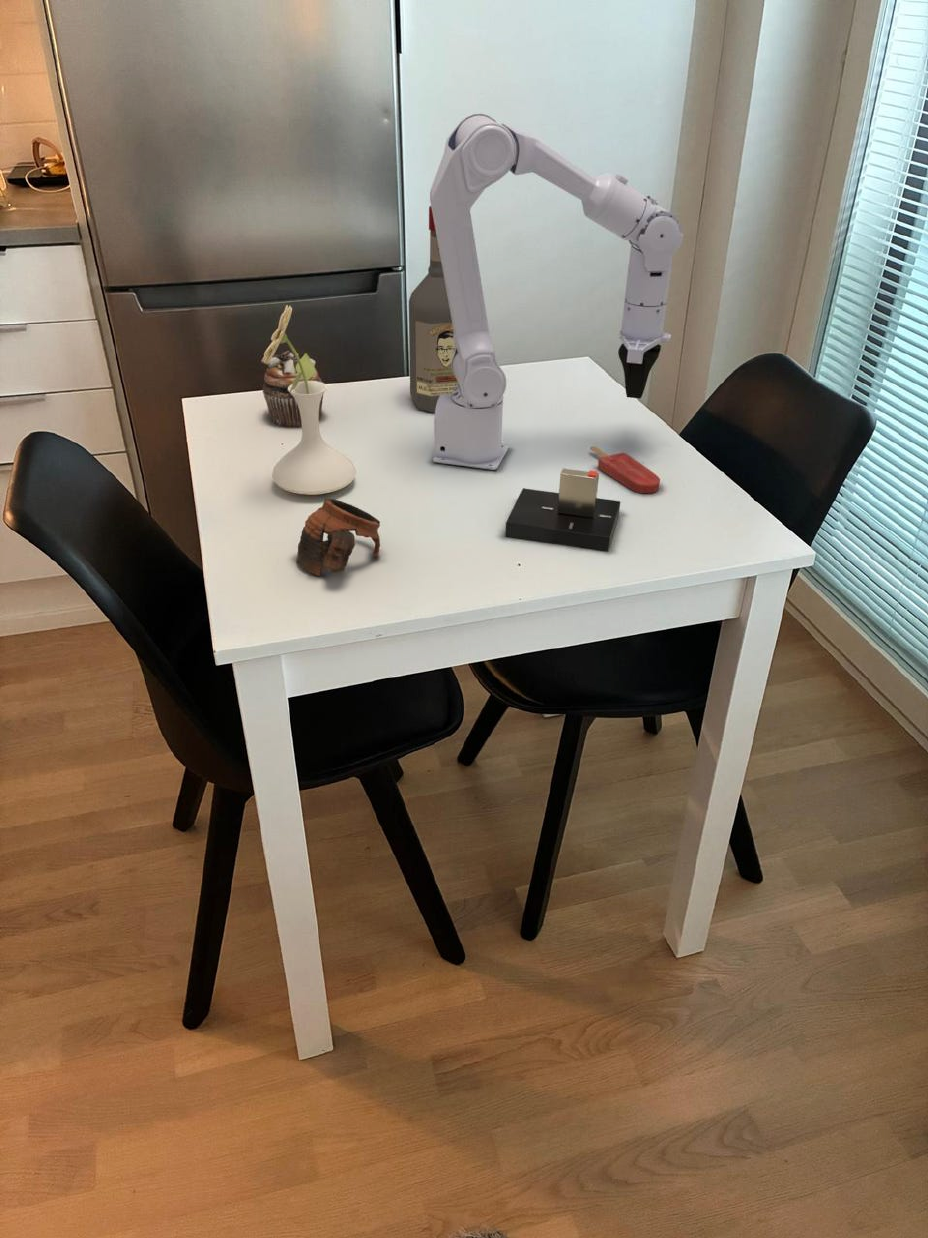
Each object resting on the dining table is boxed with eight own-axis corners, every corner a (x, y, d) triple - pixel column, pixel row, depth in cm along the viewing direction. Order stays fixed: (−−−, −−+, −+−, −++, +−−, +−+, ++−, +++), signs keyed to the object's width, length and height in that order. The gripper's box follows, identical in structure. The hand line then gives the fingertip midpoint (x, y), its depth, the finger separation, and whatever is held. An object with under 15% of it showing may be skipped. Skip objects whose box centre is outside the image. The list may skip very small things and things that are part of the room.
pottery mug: (288, 549, 117) (313, 487, 115) (359, 576, 120) (385, 516, 118) (292, 576, 105) (320, 508, 104) (370, 605, 108) (399, 540, 107)
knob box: (505, 536, 119) (505, 521, 118) (522, 501, 127) (522, 486, 126) (608, 551, 116) (610, 535, 115) (618, 514, 124) (620, 499, 123)
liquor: (407, 394, 159) (404, 201, 142) (460, 390, 161) (463, 200, 144) (418, 414, 152) (416, 214, 135) (474, 410, 154) (478, 212, 137)
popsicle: (604, 438, 140) (667, 479, 130) (602, 449, 141) (665, 491, 131) (578, 443, 139) (641, 486, 128) (577, 454, 140) (639, 497, 129)
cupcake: (252, 420, 149) (244, 357, 143) (292, 401, 156) (287, 340, 150) (299, 434, 145) (294, 370, 139) (339, 413, 151) (335, 352, 146)
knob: (557, 513, 120) (560, 471, 117) (559, 507, 121) (562, 466, 118) (593, 518, 119) (597, 476, 116) (595, 512, 121) (599, 470, 117)
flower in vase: (297, 461, 137) (281, 282, 123) (370, 473, 133) (361, 292, 119) (251, 499, 126) (227, 310, 112) (328, 514, 123) (314, 321, 109)
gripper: (670, 318, 123) (657, 417, 131) (679, 289, 135) (666, 382, 142) (616, 313, 125) (606, 411, 132) (629, 285, 136) (619, 377, 144)
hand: (634, 396), depth 137 cm, fingers closed
